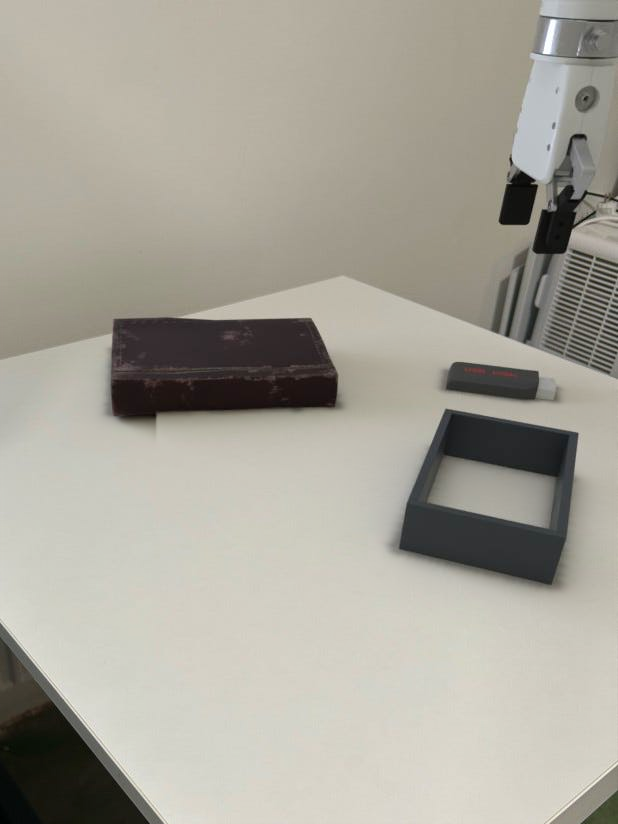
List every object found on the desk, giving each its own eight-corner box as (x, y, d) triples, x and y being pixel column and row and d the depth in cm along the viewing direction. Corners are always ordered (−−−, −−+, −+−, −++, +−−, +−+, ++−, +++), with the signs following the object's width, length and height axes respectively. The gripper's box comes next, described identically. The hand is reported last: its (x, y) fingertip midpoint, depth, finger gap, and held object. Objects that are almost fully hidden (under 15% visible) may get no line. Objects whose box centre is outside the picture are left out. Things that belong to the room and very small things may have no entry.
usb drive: (447, 377, 101) (451, 356, 99) (550, 390, 98) (556, 369, 97) (444, 395, 97) (448, 374, 95) (551, 410, 94) (557, 388, 93)
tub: (436, 456, 86) (445, 408, 82) (563, 482, 82) (578, 432, 78) (397, 556, 72) (406, 503, 68) (548, 592, 68) (566, 538, 65)
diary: (335, 414, 93) (340, 373, 90) (113, 422, 91) (110, 380, 88) (307, 348, 108) (310, 311, 105) (115, 353, 106) (112, 315, 103)
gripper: (666, 54, 67) (603, 265, 77) (578, 33, 81) (534, 214, 91) (576, 52, 66) (524, 265, 76) (503, 31, 80) (467, 214, 90)
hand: (530, 238), depth 84 cm, fingers open, 9 cm apart
